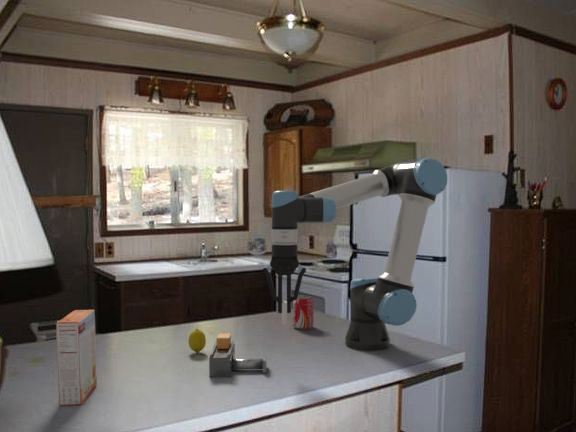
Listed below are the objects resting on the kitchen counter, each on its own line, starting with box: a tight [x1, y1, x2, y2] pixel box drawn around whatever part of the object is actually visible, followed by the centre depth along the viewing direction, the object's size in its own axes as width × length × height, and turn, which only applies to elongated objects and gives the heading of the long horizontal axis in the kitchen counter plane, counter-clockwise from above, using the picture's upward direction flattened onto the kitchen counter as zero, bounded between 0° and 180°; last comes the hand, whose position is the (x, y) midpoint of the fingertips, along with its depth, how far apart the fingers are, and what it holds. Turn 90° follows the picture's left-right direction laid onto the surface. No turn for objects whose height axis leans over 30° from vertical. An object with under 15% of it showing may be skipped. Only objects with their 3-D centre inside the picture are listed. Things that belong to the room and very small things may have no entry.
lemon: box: [188, 328, 207, 354], centre depth 172 cm, size 6×6×8 cm
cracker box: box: [55, 309, 98, 407], centre depth 136 cm, size 14×6×21 cm, turn 5°
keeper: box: [216, 333, 232, 349], centre depth 160 cm, size 4×6×3 cm, turn 1°
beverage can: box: [292, 294, 315, 331], centre depth 205 cm, size 8×8×12 cm
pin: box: [232, 354, 268, 374], centre depth 155 cm, size 13×6×3 cm, turn 91°
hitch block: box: [208, 340, 236, 378], centre depth 157 cm, size 6×14×6 cm, turn 1°
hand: (284, 323), depth 155 cm, fingers closed
